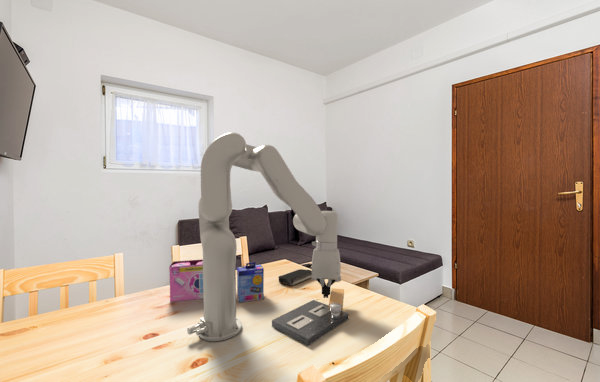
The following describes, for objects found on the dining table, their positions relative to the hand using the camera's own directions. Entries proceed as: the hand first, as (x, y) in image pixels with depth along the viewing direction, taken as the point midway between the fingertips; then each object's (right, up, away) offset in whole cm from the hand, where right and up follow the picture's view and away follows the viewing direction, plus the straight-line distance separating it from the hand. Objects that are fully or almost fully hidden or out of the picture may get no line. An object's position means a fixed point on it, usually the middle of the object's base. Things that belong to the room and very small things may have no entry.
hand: (326, 296), depth 98 cm
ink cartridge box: (-29, -4, +8) cm, 30 cm away
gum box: (-49, -4, +12) cm, 50 cm away
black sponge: (-11, -4, +27) cm, 30 cm away
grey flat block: (-6, -4, -11) cm, 13 cm away
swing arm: (+3, 0, -5) cm, 6 cm away
